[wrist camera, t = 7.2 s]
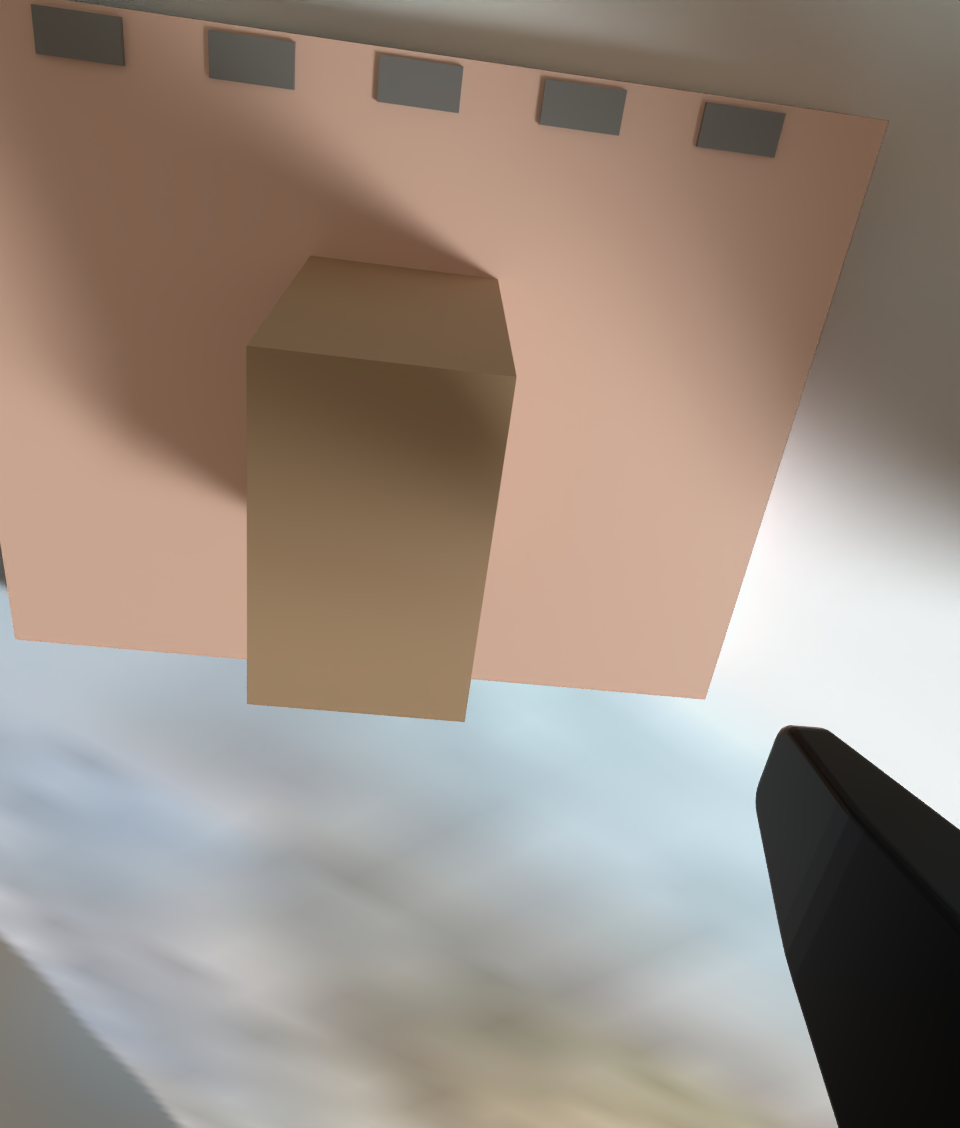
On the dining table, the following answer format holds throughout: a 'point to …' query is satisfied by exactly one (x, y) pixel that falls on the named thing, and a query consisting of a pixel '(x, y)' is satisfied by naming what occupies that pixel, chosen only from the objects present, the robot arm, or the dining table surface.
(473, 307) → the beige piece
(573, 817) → the dining table surface
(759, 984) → the dining table surface
